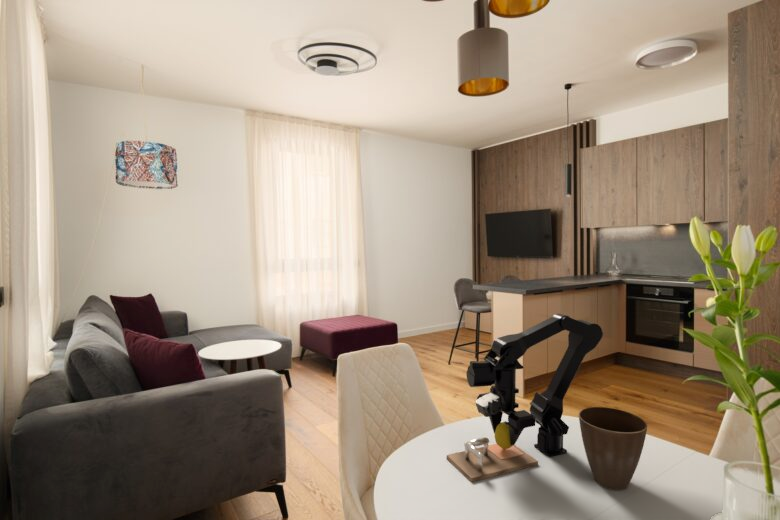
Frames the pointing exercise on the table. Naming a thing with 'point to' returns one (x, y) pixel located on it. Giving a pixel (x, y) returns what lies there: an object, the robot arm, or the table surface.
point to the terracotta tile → (504, 451)
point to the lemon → (502, 436)
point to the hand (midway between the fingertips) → (504, 439)
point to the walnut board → (489, 464)
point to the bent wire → (471, 447)
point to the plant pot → (612, 444)
